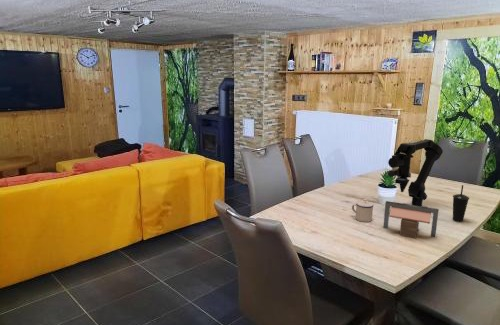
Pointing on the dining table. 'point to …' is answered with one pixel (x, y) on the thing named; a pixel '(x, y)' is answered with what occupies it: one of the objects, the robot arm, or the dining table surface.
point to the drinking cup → (459, 206)
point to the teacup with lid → (363, 210)
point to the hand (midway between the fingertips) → (402, 192)
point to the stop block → (408, 228)
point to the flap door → (410, 214)
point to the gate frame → (412, 207)
